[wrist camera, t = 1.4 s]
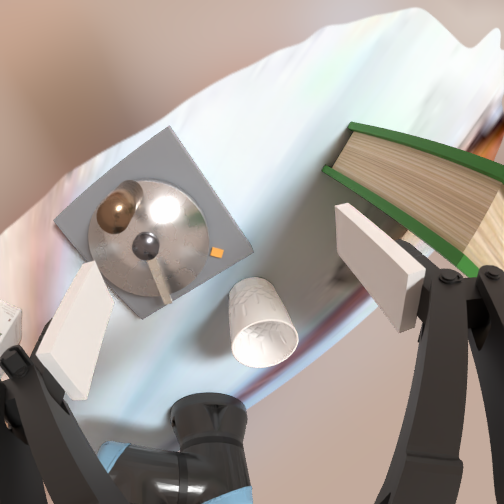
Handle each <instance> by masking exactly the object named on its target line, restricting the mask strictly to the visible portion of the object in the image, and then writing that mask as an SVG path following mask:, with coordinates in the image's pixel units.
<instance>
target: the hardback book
mask: <svg viewBox="0 0 504 504" xmlns="http://www.w3.org/2000/svg"><path fill="white" fill-rule="evenodd" d="M347 128H348V129H350V130H351V131H353V133H352V135H351V137H350V138H349V140H348V142H347V143H346V145H345V147H344V148H343V150H342V152H341V153H340V155H339V157H338V158H337V160H336V162H335V163H334V165H333V167H332V168H331V167H329V166H327V165H325V166H324V167H323V169H322V171H323V172H324V173H326V174H327V175H329V176H331V177H332V178H334V179H335V180H337V181H338V182H340V183H341V184H343V185H345V186H346V187H348V188H349V189H351V190H352V191H354V192H355V193H357V194H358V195H360V196H361V197H363V198H364V199H366V200H367V201H369V202H370V203H371V204H373V205H374V206H376V207H377V208H379V209H380V210H382V211H383V212H384V213H386V214H387V215H389V216H390V217H391V218H393V219H394V220H396V221H397V222H398V223H400V224H401V225H402V226H404V227H405V228H406V229H408V230H409V231H410V232H412V233H413V234H414V235H416V236H417V237H418V238H420V239H421V240H422V241H424V242H425V243H426V244H428V245H429V246H430V247H431V248H433V249H434V250H435V251H437V252H438V253H439V254H440V255H442V256H443V257H444V258H445V259H447V260H448V261H449V262H450V263H451V264H453V265H454V266H455V267H456V268H457V269H459V270H460V271H461V272H462V273H463V274H465V275H466V276H467V277H468V278H472V277H477V275H478V271H479V268H480V267H482V266H484V265H494V266H497V267H499V268H500V269H502V270H503V271H504V165H502V164H499V163H496V162H494V161H491V160H489V159H486V158H483V157H480V156H478V155H475V154H472V153H469V152H466V151H463V150H460V149H457V148H454V147H451V146H448V145H444V144H441V143H438V142H434V141H431V140H427V139H424V138H420V137H416V136H413V135H409V134H405V133H401V132H397V131H392V130H388V129H384V128H379V127H375V126H370V125H365V124H360V123H355V122H350V124H349V126H348V127H347Z"/></svg>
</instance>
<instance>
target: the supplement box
mask: <svg viewBox="0 0 504 504" xmlns="http://www.w3.org/2000/svg"><path fill="white" fill-rule="evenodd" d="M21 329H22V310H21V309H19V308H17V307H15V306H12V305H10V304H8V303H7V302H5V301H3V300H1V299H0V357H1V355H2V354H3V353H4V352H5V351H6V350H7V349H8V348H10V347H12V346H14V345H18V344H19V342H20V340H21V336H22V335H21V334H22V333H21V332H22V331H21ZM3 373H4V371H3V369H2V368H1V367H0V380H1V377H2V375H3Z"/></svg>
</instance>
